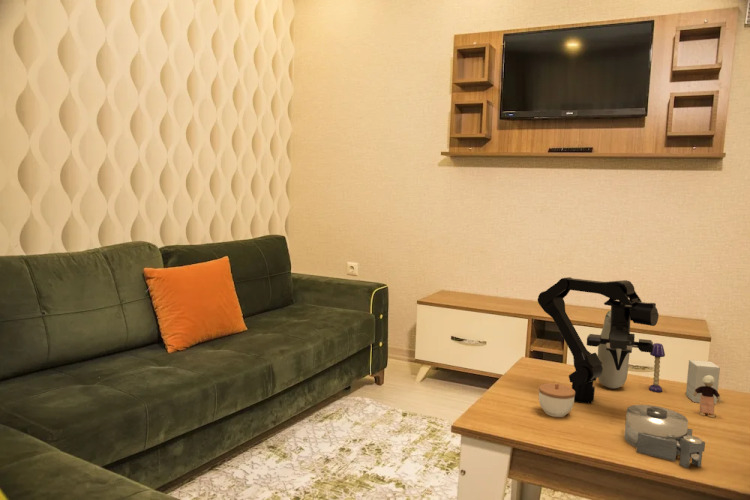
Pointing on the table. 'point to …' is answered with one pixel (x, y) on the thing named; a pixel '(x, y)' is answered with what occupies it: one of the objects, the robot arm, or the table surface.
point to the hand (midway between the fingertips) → (618, 370)
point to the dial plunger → (692, 455)
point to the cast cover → (654, 423)
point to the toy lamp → (657, 366)
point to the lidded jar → (556, 399)
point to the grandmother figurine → (707, 396)
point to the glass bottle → (611, 361)
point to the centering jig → (671, 447)
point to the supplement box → (701, 377)
